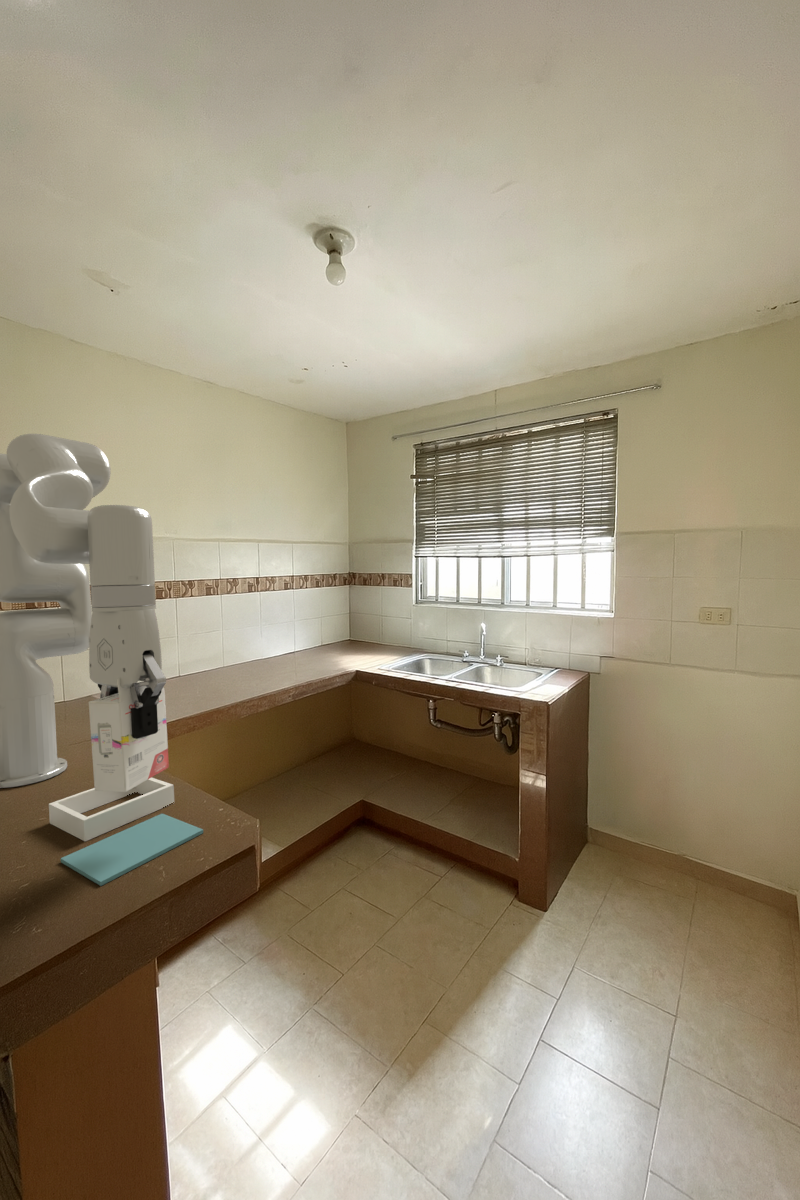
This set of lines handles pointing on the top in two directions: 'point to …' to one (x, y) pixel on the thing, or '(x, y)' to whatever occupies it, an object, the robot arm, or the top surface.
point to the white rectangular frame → (86, 828)
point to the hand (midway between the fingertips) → (130, 730)
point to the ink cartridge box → (125, 743)
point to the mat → (130, 848)
